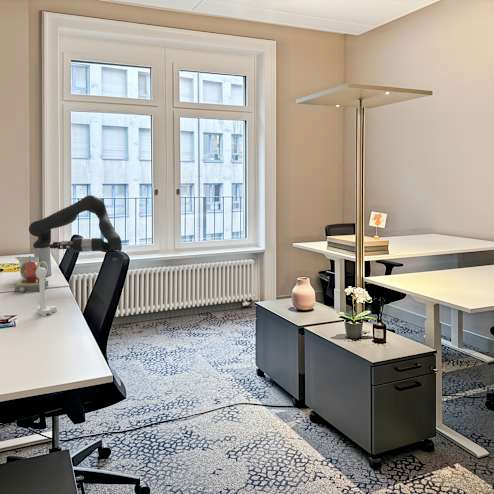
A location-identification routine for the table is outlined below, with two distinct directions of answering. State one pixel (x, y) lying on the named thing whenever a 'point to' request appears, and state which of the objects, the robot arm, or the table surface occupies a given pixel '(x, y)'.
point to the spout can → (31, 271)
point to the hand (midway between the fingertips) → (51, 245)
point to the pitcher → (24, 260)
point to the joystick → (43, 294)
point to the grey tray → (29, 286)
